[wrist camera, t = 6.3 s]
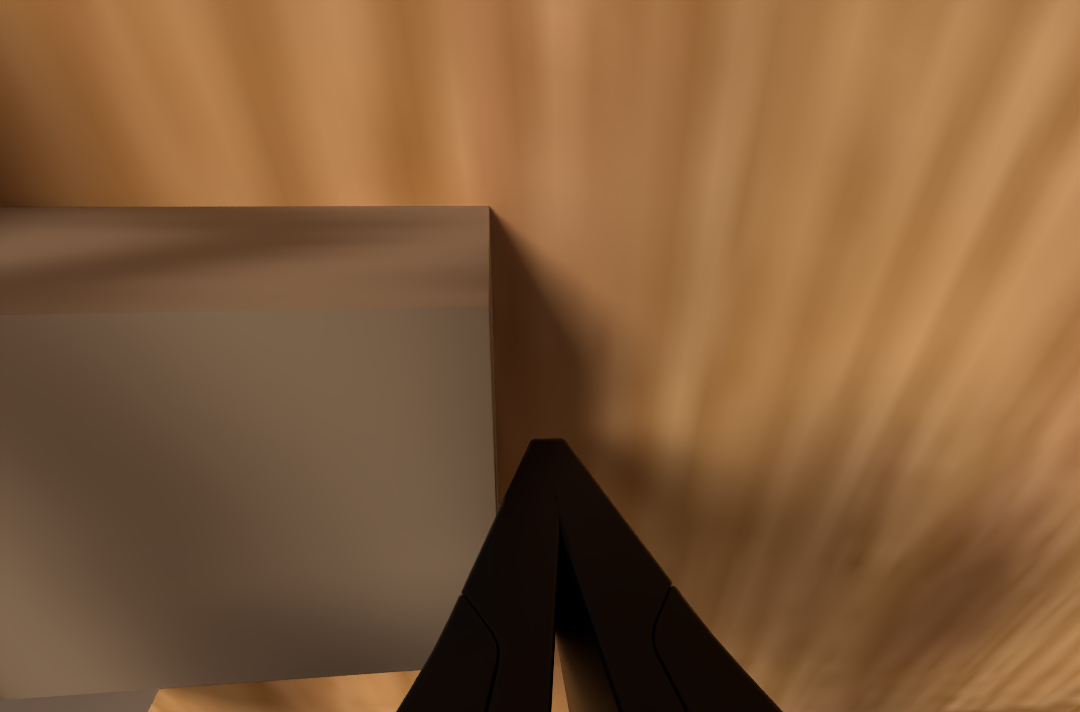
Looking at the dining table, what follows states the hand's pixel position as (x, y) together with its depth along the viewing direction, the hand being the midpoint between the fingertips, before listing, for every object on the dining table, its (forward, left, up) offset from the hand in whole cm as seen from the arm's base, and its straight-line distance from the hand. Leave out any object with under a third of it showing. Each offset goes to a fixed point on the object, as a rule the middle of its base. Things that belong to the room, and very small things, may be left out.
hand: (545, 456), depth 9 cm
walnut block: (+6, 0, -3) cm, 6 cm away
